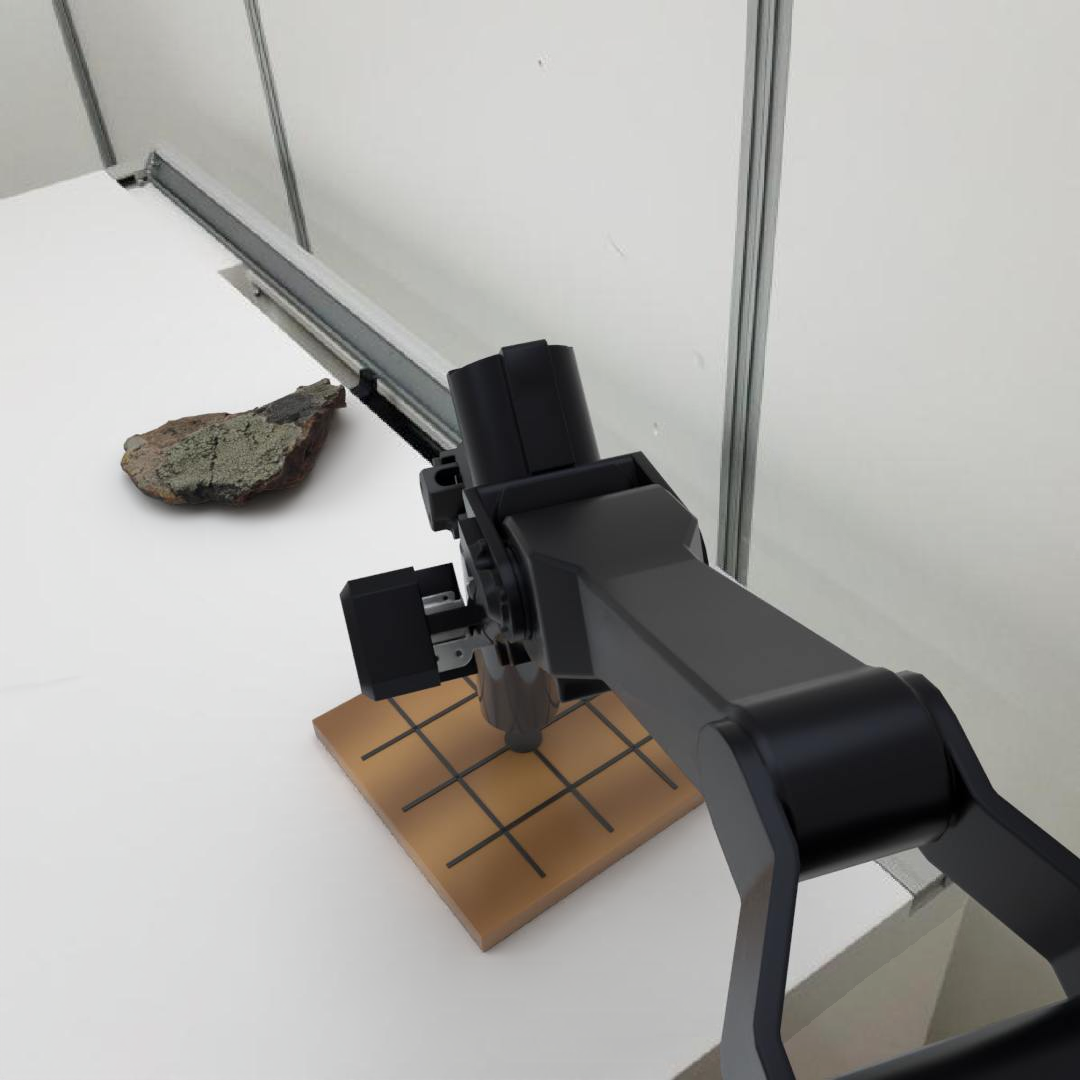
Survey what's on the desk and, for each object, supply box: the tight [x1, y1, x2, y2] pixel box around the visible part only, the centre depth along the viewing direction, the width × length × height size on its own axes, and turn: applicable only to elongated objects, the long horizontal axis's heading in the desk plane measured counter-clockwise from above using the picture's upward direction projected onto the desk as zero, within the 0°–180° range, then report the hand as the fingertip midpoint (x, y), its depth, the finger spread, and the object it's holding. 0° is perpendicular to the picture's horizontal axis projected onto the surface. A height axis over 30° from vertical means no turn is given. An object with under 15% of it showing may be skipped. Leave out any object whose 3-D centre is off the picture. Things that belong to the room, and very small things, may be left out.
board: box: [311, 674, 705, 953], centre depth 74 cm, size 20×20×2 cm
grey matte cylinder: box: [458, 542, 560, 733], centre depth 67 cm, size 5×5×13 cm
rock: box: [119, 377, 348, 508], centre depth 99 cm, size 20×17×5 cm
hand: (506, 610), depth 68 cm, fingers closed on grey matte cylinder, 5 cm apart
